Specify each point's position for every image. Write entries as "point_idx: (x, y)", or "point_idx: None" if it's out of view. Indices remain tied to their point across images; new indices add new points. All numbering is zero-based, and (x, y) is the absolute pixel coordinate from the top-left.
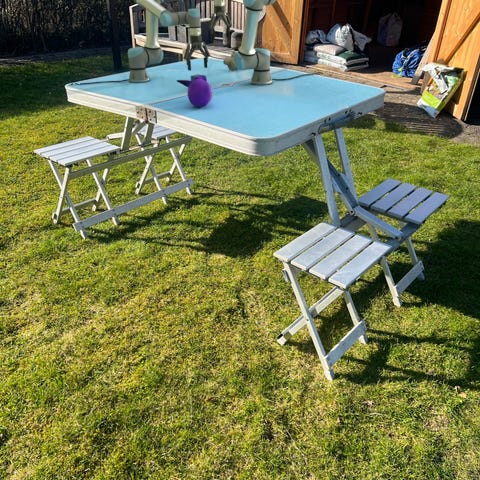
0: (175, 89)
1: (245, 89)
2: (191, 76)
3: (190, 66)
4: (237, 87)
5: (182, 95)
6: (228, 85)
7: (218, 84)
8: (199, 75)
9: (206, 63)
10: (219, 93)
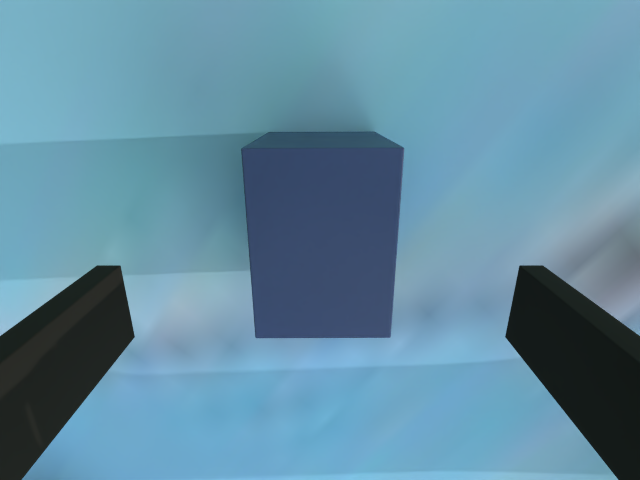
0: (89, 37)
1: (559, 474)
2: (244, 170)
3: (80, 390)
4: None
5: None
6: (617, 288)
7: (605, 179)
8: (354, 239)
9: (560, 400)
10: (331, 450)
